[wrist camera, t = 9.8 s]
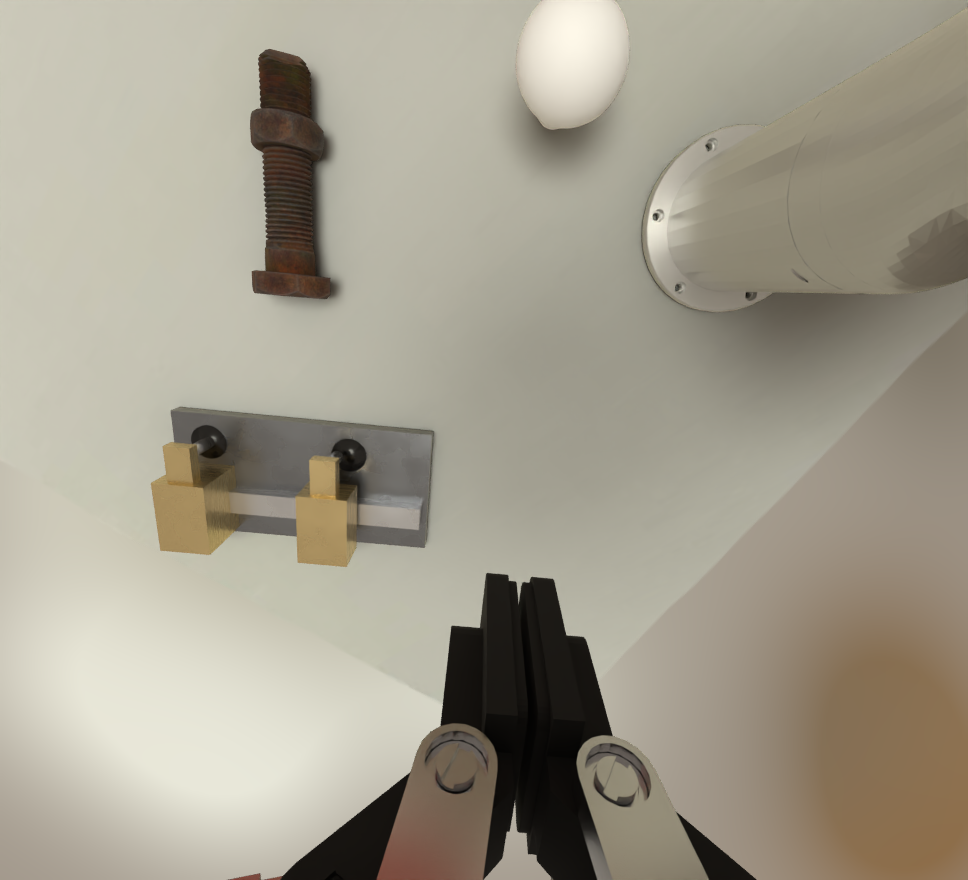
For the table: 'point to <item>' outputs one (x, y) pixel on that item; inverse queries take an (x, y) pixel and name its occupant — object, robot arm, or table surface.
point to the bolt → (287, 176)
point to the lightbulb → (572, 60)
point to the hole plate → (285, 477)
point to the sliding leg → (326, 515)
